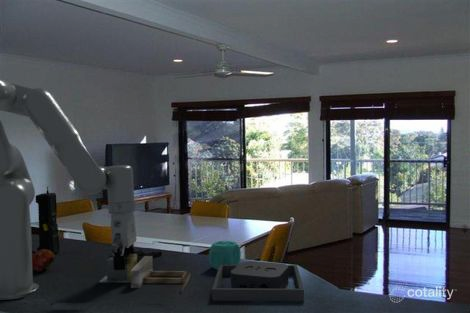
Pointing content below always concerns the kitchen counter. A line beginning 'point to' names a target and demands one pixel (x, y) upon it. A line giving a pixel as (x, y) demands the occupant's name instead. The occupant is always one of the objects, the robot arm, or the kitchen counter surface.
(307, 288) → the kitchen counter surface
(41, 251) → the pomegranate
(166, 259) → the kitchen counter surface
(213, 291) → the dark rectangular frame
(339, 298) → the kitchen counter surface
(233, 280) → the streaming box
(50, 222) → the portable radio
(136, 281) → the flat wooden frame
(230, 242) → the decorative dice
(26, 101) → the robot arm
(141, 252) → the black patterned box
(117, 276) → the latch bar
